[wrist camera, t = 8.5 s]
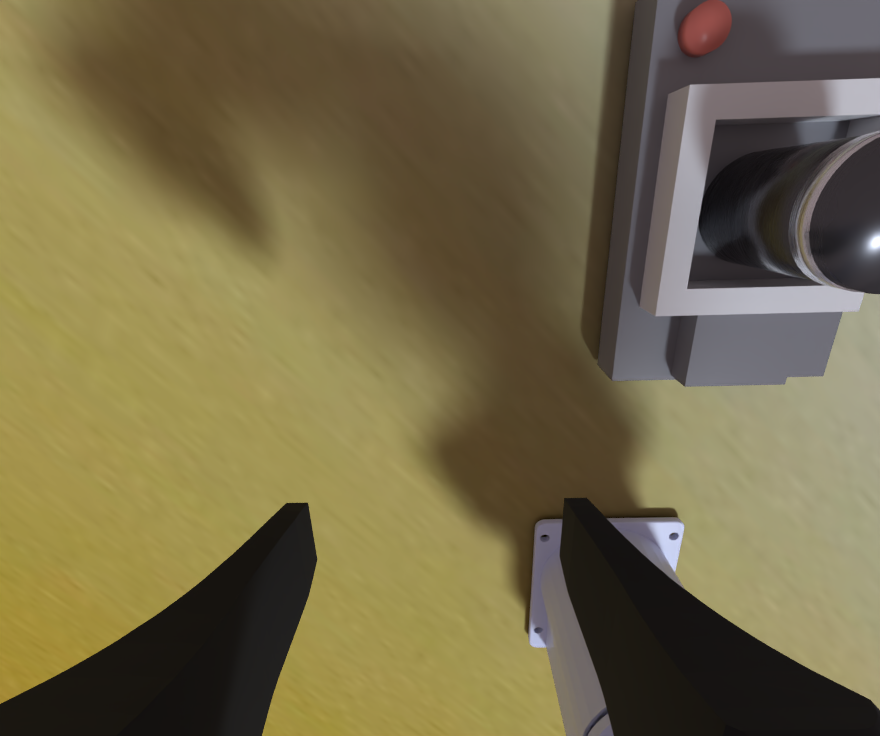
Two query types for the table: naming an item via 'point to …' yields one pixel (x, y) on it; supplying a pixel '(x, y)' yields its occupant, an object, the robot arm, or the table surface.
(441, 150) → the table surface
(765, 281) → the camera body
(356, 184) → the table surface
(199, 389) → the table surface
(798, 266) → the lens
